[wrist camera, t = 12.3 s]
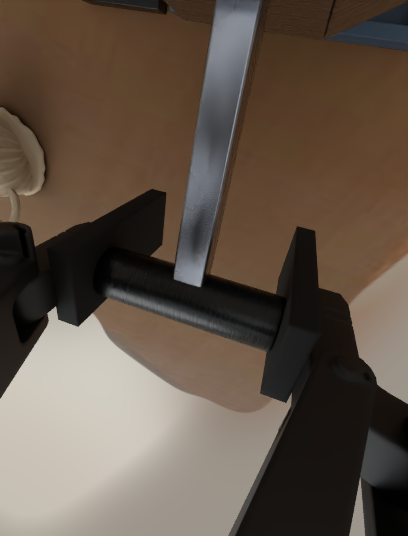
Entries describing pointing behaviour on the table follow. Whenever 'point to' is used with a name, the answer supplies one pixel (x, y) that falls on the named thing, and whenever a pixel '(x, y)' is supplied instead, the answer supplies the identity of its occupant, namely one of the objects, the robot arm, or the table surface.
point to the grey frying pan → (222, 171)
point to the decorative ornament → (19, 161)
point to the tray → (377, 30)
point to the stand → (134, 5)
